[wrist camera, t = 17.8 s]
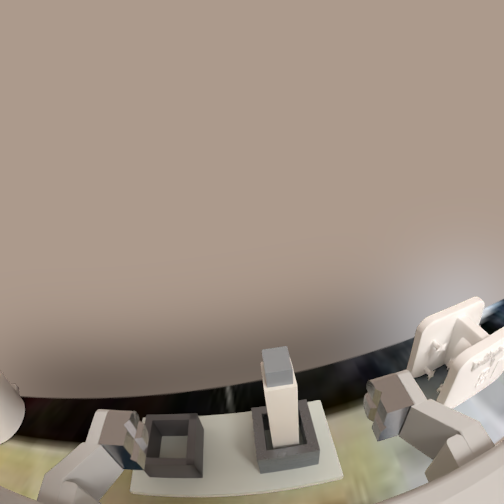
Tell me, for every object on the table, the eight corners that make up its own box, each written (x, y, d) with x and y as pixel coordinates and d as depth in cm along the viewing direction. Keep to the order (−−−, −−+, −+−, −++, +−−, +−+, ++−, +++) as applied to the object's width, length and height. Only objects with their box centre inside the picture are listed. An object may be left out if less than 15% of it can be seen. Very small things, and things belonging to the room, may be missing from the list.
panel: (132, 493, 27) (115, 478, 25) (145, 421, 39) (133, 401, 37) (342, 478, 28) (347, 462, 26) (319, 403, 40) (320, 381, 38)
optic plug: (274, 458, 31) (261, 377, 25) (271, 434, 35) (258, 347, 28) (299, 454, 31) (296, 371, 25) (294, 430, 35) (289, 342, 29)
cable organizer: (466, 346, 43) (483, 291, 38) (501, 381, 33) (527, 324, 28) (402, 377, 41) (417, 318, 36) (437, 423, 31) (464, 365, 27)
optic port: (260, 473, 29) (256, 460, 28) (254, 424, 37) (251, 407, 35) (318, 464, 29) (320, 449, 28) (306, 416, 37) (306, 399, 35)
